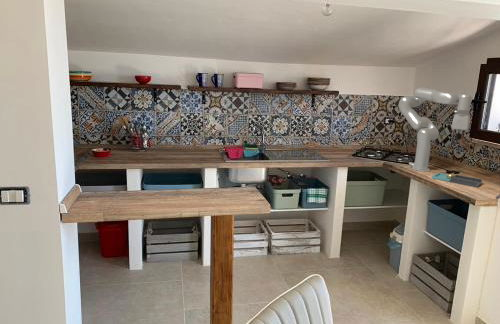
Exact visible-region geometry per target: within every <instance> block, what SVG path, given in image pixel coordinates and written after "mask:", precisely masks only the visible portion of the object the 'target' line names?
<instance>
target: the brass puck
mask: <svg viewBox="0 0 500 324" xmlns="http://www.w3.org/2000/svg"><path fill="white" fill-rule="evenodd" d="M455 175H456V174H455V173H454V172H452V173H449V174H448V175H446V177H447V179H450V178H451V177H455Z"/></svg>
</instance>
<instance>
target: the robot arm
mask: <svg viewBox="0 0 500 324" xmlns="http://www.w3.org/2000/svg"><path fill="white" fill-rule="evenodd" d="M472 98H473V97H472V94H464V93H463V94H461V93H450V92H443V91H439V90H438V89H433V88H429V87H417V88H416V89H415V90H414V94H413V95H406V96H402V97H401V98H400V99H399V101H398V108H399V112H400V113H401V115H402V116H403V117H404V118H405V119H406V121H407V122H408V124H409V125H410V126H411V128H412V129H413V130H417V134H416V142H417V143H416V150H415V156H414V157H415V158H414V162H410V161H409V162H408V166H411V169H412V171H413V170H414V171H418V172H419V171H420V172H429V171H430V168H429V162H430V155H431V149H432V148H431V147H432V145H431V141H436V140H437V139H438V138H439V135H440V132H439V130H438V128H437V127H436V125H435V124H434V123H433V122H432V120H431V119H430V118H428V117H426V116H420V115H419V114H418V112H417V111H416V110H415V109H413V108H417V107H419V106H420V105H422V104H423V103H425V102H427V101H428V102H433V103H438V104H441V105H442V104H443V105H457V107H456V108H457V109H455V110H454V113H455V114H454V115H453V119H452V123H451V128H450V130H451V131H454V132H455V134H456V136H455V138H456V140H460V141H461V139H462V138H463V136H462V135H463V134H464V133H468V132H469V131H470V125H471V124H470V123H471V115H470V111H471V110H470V108H471V104H472Z"/></svg>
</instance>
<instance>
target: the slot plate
mask: <svg viewBox="0 0 500 324" xmlns="http://www.w3.org/2000/svg"><path fill="white" fill-rule="evenodd" d="M454 175H455V177H451V179H450V182H449V183H453V184H457V185H461V186H462V185H463V186H466V187H467V186H468V187H472V188H478V187H479V186H481V185H482V184H483V179H482V178H477V177H471V176H468V175H462V174H461V175H460V174H454Z"/></svg>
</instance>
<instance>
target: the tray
mask: <svg viewBox="0 0 500 324" xmlns="http://www.w3.org/2000/svg"><path fill="white" fill-rule="evenodd" d="M446 175H448V174H447V173H443V172H442V173H441V172H438V173H435V174H432V176H431V179H433V180H438V181H443V182H447V183H451V182H450V179H451V178H450V179H447V177H446Z"/></svg>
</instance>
